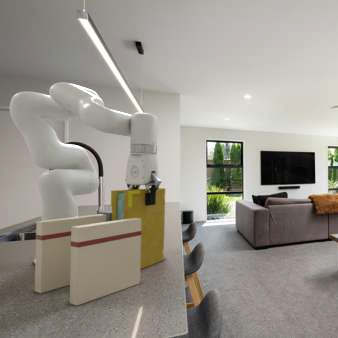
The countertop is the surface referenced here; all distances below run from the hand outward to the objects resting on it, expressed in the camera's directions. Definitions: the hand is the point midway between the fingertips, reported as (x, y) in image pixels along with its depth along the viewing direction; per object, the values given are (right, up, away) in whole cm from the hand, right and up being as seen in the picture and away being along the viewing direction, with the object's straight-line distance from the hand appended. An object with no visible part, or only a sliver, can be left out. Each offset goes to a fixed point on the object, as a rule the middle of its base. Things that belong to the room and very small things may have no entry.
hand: (142, 203), depth 95 cm
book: (0, -20, 0) cm, 20 cm away
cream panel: (+4, -20, -21) cm, 30 cm away
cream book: (-10, -20, -15) cm, 27 cm away
